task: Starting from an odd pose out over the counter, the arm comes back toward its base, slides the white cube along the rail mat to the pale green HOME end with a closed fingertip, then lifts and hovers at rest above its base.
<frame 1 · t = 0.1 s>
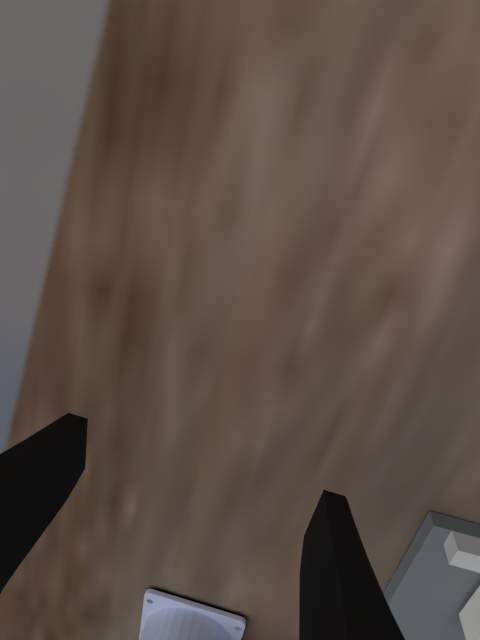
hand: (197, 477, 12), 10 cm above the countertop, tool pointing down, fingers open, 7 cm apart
rail mat: (469, 627, 27), on the countertop
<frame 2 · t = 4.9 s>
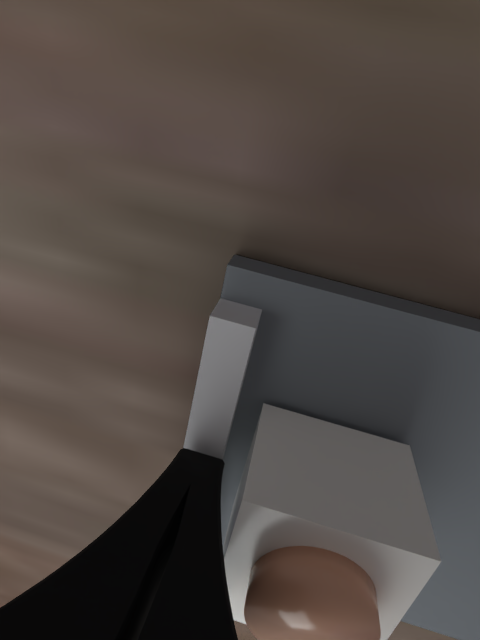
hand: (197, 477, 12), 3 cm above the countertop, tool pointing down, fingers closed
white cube: (312, 537, 11), point 3 cm above the countertop, slide at 0.2 cm, touching gripper
rail mat: (454, 489, 14), on the countertop
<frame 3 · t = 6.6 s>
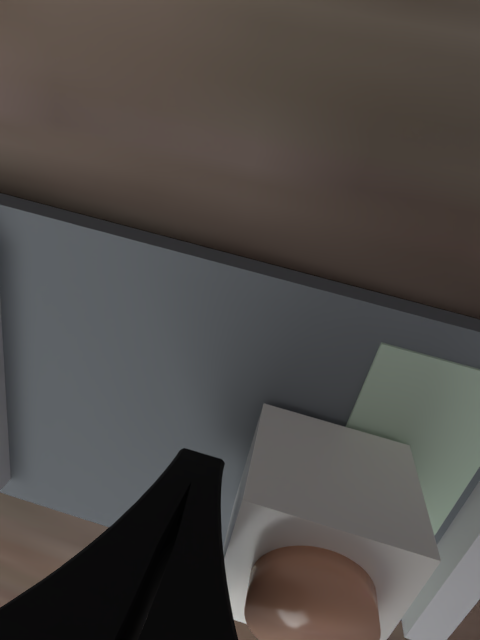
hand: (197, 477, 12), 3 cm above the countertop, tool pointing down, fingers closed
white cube: (312, 537, 11), point 3 cm above the countertop, slide at 8.1 cm, touching gripper
rail mat: (228, 422, 15), on the countertop
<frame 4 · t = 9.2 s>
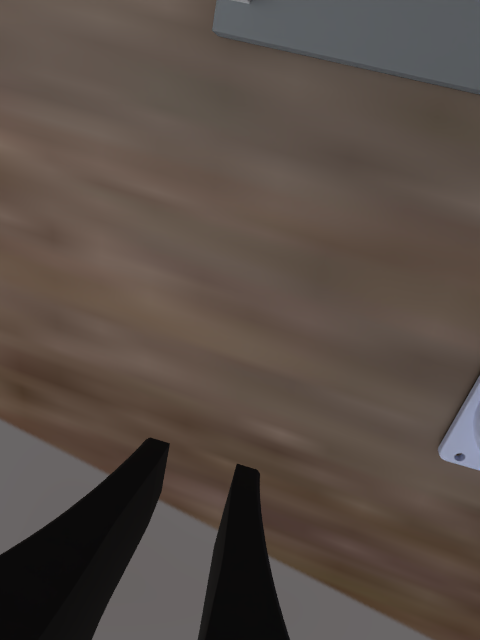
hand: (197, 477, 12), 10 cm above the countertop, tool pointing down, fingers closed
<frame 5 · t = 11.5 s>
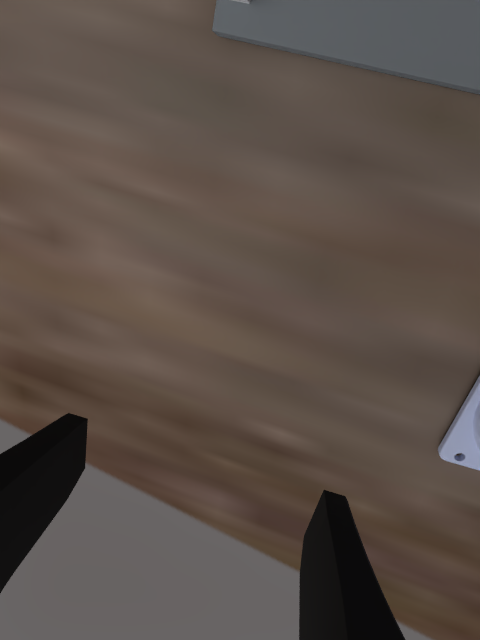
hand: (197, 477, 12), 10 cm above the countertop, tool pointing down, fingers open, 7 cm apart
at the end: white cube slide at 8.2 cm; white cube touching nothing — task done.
